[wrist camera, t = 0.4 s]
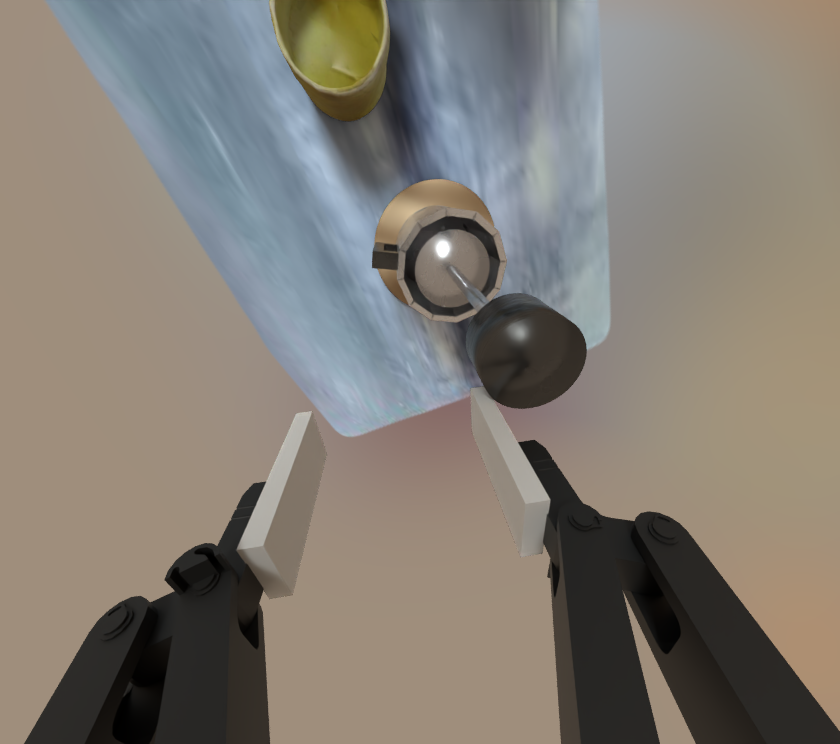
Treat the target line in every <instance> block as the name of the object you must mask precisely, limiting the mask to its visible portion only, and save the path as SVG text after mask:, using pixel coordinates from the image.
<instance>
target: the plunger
mask: <svg viewBox="0 0 840 744" xmlns="http://www.w3.org/2000/svg"><path fill="white" fill-rule="evenodd" d="M489 266H490V264H489V257H488V253H487V251H486V249H485V247H484V245H483V244H482V242H481V241H480V240H479V239H478V238H477V237H476V236H474V235H473V234H471V233H469V232H467V231H464V230H460V229H446V230H442V231H440V232H437V233H436V234H434V235H432V236H431V237H430V238H429V239H428V240H427V241H426V242H425V243H424V244H423V245H422V247H421V248H420V250H419V252H418V254H417V257H416V261H415V278H416V282H417V285H418V287H419V289H420V291H421V292H422V294H423V295H424V296H425V297H426V298H427V299H428V300H429V301H430V302H432V303H434V304H436V305H438V306H442V307H458V306H461V305H464V304H466V303H468V302H470V303H471V305H472V306H473V307H474V309H475V310H476V311H477V314H476V315H475V316H474V318H473V319H472V321H471V323H470V325H469V328H468V331H467V335H466V348H467V352H468V355H469V357H470V359H471V361H472V363H473V365H474V367H475V369H476V371H477V373H478V375H479V377H480V379H481V381H482V383H483V385H484V387H485V389H486V391H487V392H488V394H489V395H490V396H491V397H492V398H493V399H494V400H495V401H497V402H498V403H500V404H502V405H504V406H507V407H511V408H519V409H520V408H521V409H522V408H523V409H525V408H533V407H537V406H541V405H544V404H546V403H548V402H551V401H552V400H554V399H556V398H558V397H559V396H560V395H562V394H563V393H564V392H565V391H567V390H568V389H569V388H570V387H571V386H572V385H573V383H574V382H575V381H576V380H577V378H578V377H579V375H580V373H581V371H582V369H583V366H584V364H585V359H586V352H587V349H586V342H585V338H584V336H583V334H582V332H581V331H580V329H579V328H578V327H577V326H576V325H575V324H574V323H572V322H571V321H569V320H568V319H567V318H565V317H564V316H562V315H561V314H559V313H558V312H556V311H555V310H553V309H552V308H550V307H549V306H547V305H546V304H545V303H543V302H542V301H540V300H539V299H537V298H535V297H533V296H530V295H527V294H522V293H514V294H507V295H503V296H500V297H498V298H496V299H494V300H492V301H489V300H488V299H487V298H486V297H485V296H484V295H483V294H482V293H481V290H482V289H483V287H484V286H485V284H486V281H487V279H488V275H489Z"/></svg>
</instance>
